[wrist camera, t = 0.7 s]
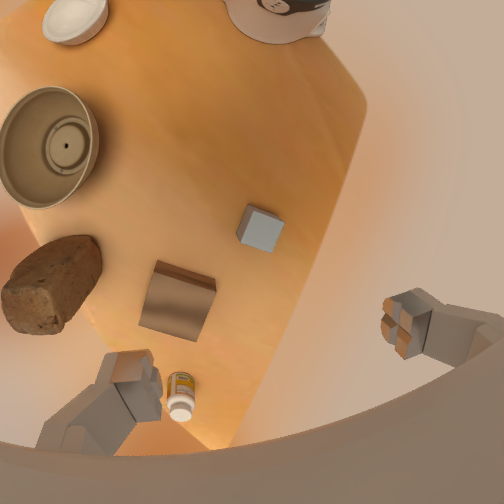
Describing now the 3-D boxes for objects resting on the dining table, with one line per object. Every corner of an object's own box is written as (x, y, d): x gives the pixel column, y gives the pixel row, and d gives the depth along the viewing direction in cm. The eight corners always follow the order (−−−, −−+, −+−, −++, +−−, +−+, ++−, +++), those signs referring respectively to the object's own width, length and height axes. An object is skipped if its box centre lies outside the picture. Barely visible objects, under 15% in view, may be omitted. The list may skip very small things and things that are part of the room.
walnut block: (157, 259, 47) (153, 271, 42) (214, 278, 49) (216, 291, 45) (142, 309, 49) (138, 325, 44) (195, 326, 52) (196, 342, 47)
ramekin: (118, -9, 30) (111, -23, 25) (109, 43, 33) (99, 32, 28) (61, 5, 28) (49, -6, 23) (50, 56, 31) (36, 49, 26)
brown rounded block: (102, 232, 43) (49, 285, 25) (107, 276, 46) (65, 346, 27) (47, 234, 41) (-19, 282, 23) (54, 275, 44) (-1, 337, 25)
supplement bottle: (176, 392, 56) (176, 426, 47) (162, 376, 54) (160, 411, 45) (198, 384, 56) (201, 419, 47) (185, 367, 54) (185, 403, 45)
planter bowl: (23, 186, 38) (-13, 197, 28) (46, 92, 34) (12, 82, 23) (101, 206, 42) (76, 222, 32) (129, 106, 38) (108, 93, 28)
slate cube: (247, 204, 46) (253, 210, 41) (276, 215, 48) (284, 222, 43) (236, 233, 47) (240, 242, 43) (264, 243, 49) (271, 253, 44)
